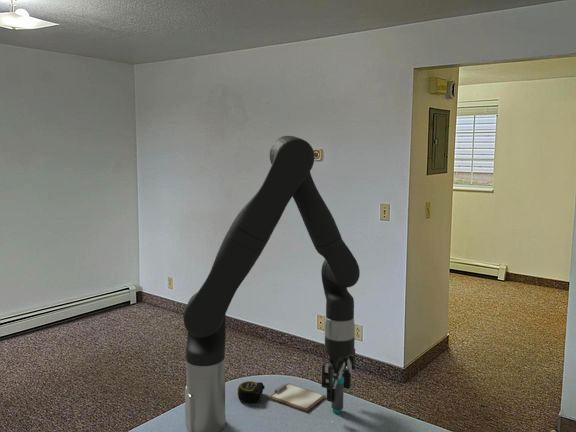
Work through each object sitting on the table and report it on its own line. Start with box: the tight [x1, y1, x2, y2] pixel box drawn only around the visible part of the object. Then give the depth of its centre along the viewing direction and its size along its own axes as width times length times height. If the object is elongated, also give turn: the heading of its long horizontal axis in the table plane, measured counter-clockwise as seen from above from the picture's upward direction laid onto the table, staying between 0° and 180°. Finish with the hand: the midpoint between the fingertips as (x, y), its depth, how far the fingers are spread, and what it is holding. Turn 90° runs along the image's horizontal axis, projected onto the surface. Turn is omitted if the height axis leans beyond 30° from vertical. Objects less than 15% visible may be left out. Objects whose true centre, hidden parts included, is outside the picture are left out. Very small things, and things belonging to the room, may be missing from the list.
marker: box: [331, 374, 345, 415], centre depth 128 cm, size 3×3×9 cm
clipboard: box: [268, 383, 327, 414], centre depth 135 cm, size 12×10×2 cm
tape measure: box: [237, 380, 266, 403], centre depth 135 cm, size 7×7×4 cm
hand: (338, 394), depth 128 cm, fingers open, 8 cm apart
